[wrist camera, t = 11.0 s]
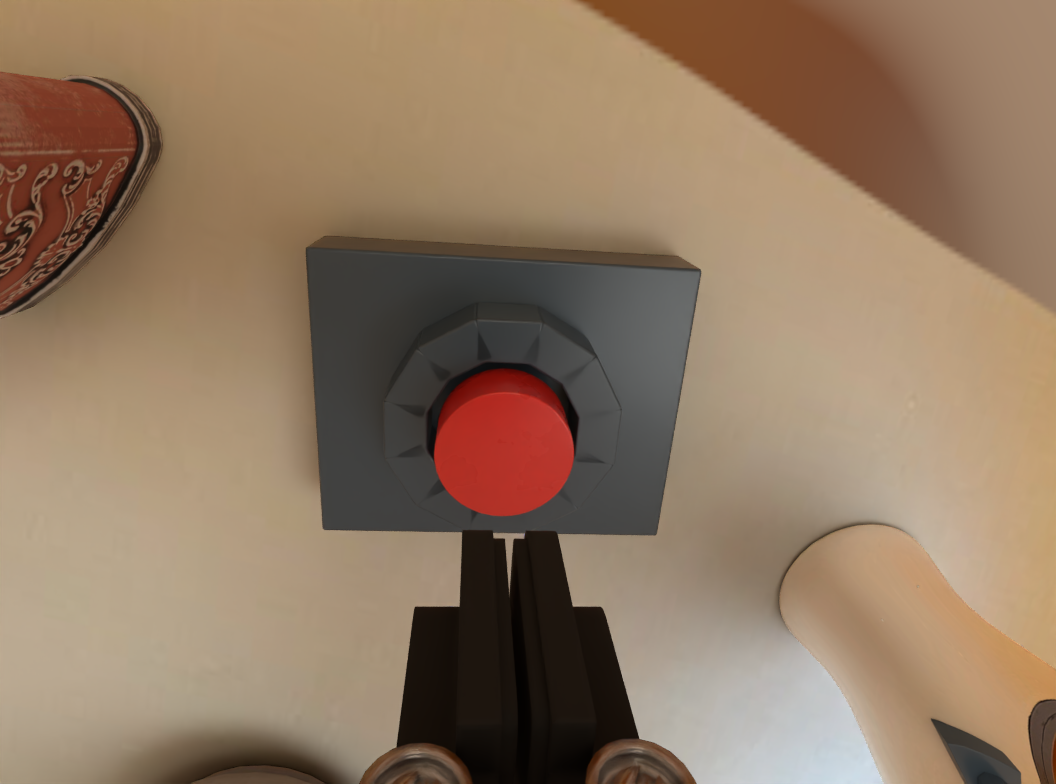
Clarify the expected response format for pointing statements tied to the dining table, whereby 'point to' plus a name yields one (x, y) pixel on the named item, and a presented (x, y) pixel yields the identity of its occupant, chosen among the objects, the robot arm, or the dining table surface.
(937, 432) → the dining table surface
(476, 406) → the button
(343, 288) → the button box
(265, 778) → the coffee pot
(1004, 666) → the beer glass
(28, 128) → the lighter
